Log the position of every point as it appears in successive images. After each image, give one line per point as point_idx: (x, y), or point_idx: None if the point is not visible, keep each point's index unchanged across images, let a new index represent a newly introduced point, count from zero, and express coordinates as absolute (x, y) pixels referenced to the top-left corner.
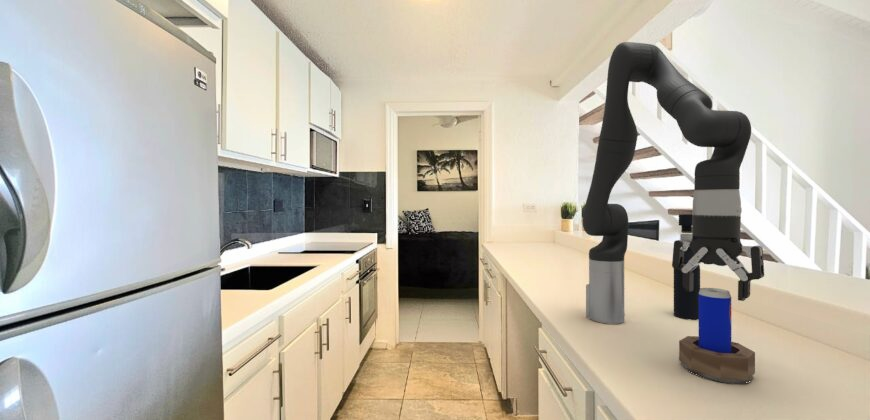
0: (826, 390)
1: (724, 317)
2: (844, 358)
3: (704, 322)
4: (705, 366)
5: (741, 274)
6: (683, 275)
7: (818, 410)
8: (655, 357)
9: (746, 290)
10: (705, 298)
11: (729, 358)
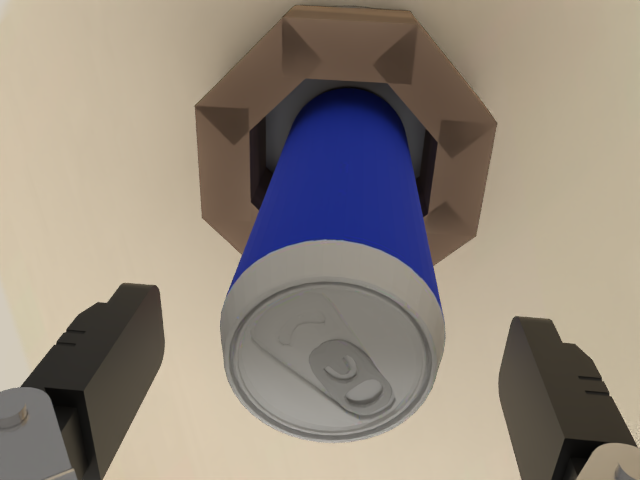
0: (59, 229)
1: (267, 203)
2: None
3: (377, 162)
4: (351, 11)
5: (10, 445)
6: (623, 439)
7: (14, 21)
8: (579, 94)
9: (69, 347)
10: (373, 236)
11: (253, 48)
